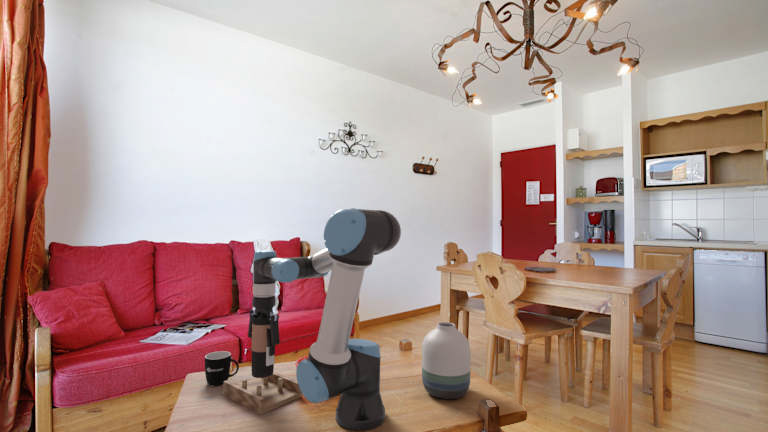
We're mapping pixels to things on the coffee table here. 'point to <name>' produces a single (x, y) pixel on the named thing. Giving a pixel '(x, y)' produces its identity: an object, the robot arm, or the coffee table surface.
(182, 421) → the coffee table surface
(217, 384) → the mug
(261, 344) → the travel mug
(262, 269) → the robot arm
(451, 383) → the vase
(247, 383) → the peg stand
